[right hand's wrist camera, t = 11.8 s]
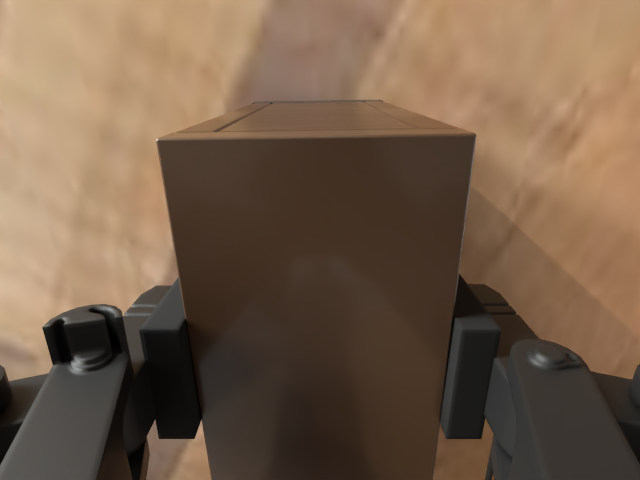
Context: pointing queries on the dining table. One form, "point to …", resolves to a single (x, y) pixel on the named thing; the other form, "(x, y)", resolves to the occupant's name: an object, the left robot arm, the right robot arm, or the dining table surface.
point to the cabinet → (319, 284)
